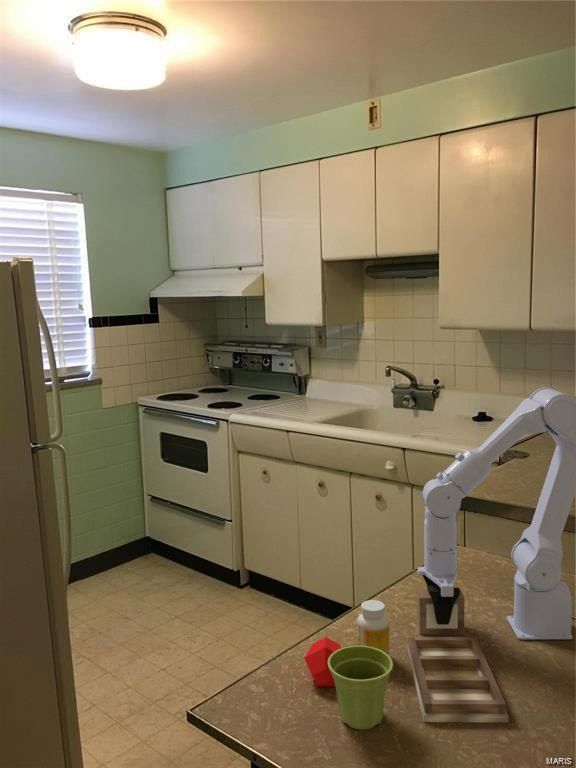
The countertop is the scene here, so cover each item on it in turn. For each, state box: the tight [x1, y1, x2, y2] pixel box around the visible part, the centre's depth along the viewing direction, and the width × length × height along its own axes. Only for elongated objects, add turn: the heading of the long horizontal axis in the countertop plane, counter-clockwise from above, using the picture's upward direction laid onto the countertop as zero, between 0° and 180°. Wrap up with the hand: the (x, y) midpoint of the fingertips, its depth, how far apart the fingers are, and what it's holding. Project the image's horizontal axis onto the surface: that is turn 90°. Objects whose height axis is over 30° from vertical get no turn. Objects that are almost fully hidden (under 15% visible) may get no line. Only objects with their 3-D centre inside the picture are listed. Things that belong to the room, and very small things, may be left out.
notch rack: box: [406, 636, 509, 724], centre depth 105 cm, size 12×20×2 cm, turn 177°
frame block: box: [416, 588, 465, 635], centre depth 121 cm, size 8×4×7 cm, turn 87°
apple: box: [303, 636, 342, 688], centre depth 107 cm, size 7×7×8 cm
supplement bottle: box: [356, 599, 390, 656], centre depth 112 cm, size 5×5×10 cm
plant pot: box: [328, 645, 394, 730], centre depth 96 cm, size 9×9×9 cm
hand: (440, 616), depth 121 cm, fingers open, 4 cm apart
